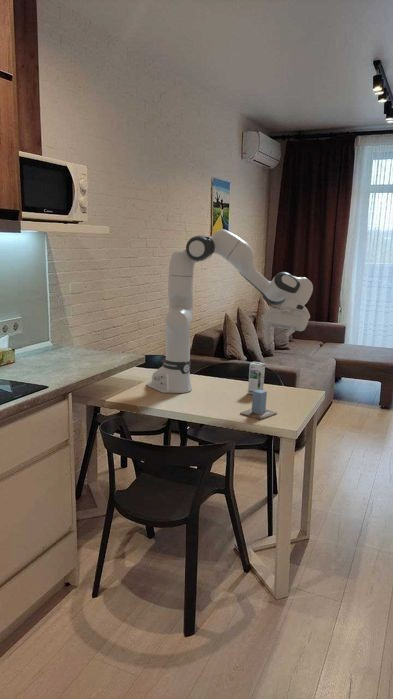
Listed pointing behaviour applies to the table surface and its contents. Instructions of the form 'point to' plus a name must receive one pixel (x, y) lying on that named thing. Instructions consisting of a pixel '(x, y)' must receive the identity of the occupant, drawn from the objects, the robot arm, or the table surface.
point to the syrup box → (256, 376)
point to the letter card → (257, 416)
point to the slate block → (259, 401)
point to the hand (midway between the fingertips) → (276, 334)
